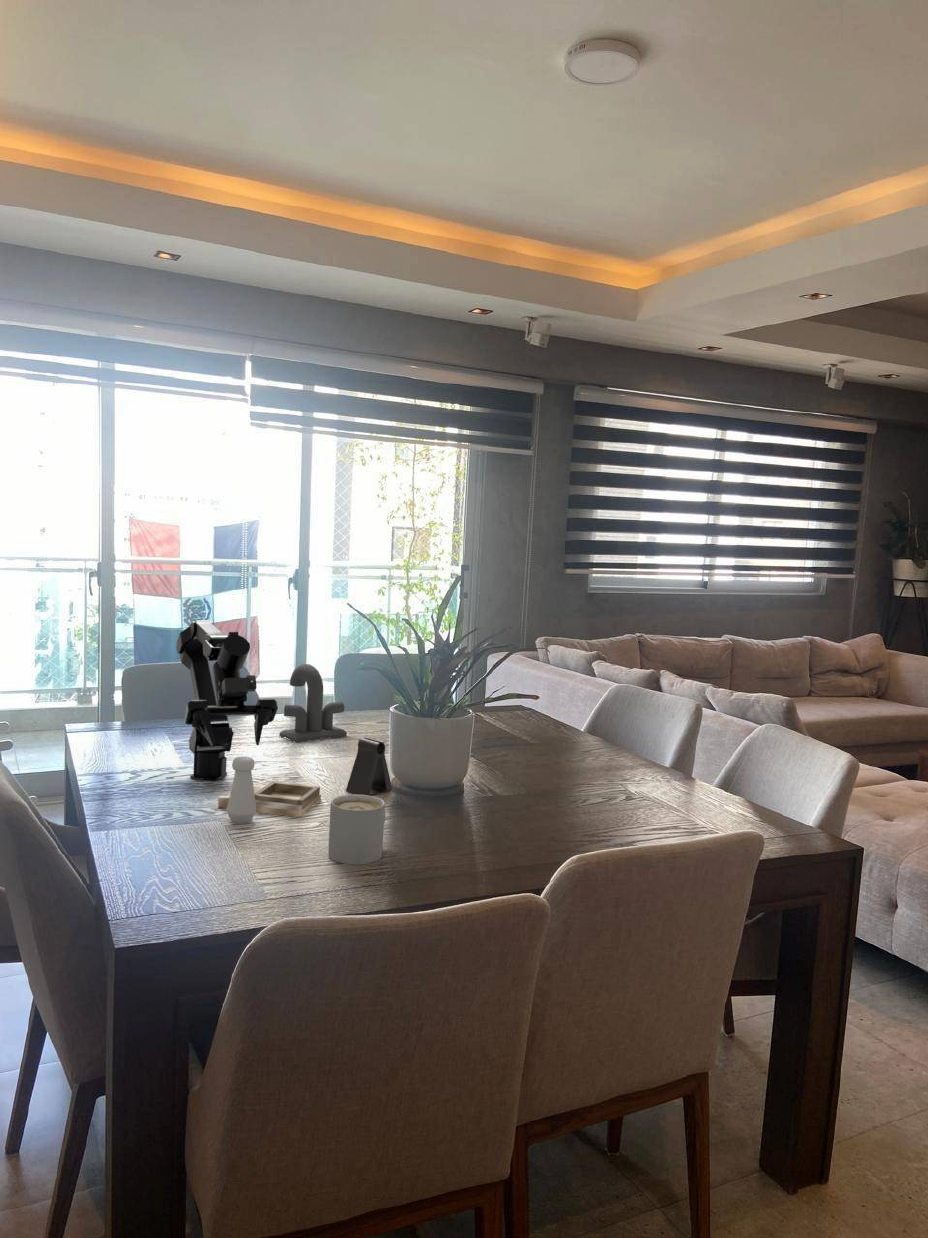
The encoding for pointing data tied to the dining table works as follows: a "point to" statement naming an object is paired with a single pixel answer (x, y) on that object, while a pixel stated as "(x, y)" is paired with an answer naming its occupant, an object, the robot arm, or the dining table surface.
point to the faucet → (312, 709)
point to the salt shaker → (242, 792)
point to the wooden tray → (282, 798)
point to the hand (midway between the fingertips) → (235, 745)
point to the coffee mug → (356, 829)
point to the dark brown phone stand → (369, 770)
